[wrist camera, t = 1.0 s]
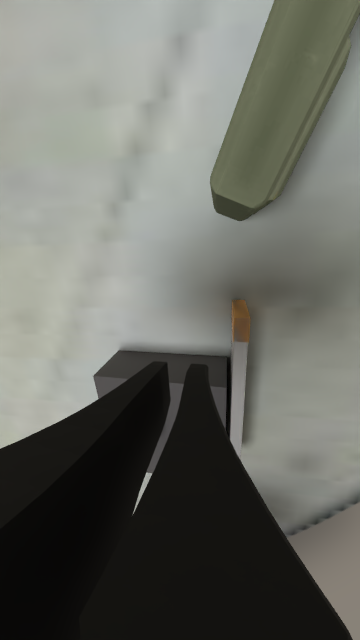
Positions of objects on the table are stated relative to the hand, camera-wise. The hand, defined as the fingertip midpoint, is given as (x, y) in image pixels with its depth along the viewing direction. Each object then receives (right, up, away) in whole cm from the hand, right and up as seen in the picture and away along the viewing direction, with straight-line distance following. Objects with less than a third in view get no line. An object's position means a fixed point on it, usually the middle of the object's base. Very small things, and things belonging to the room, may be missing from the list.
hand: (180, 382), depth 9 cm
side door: (+5, -3, +9) cm, 11 cm away
